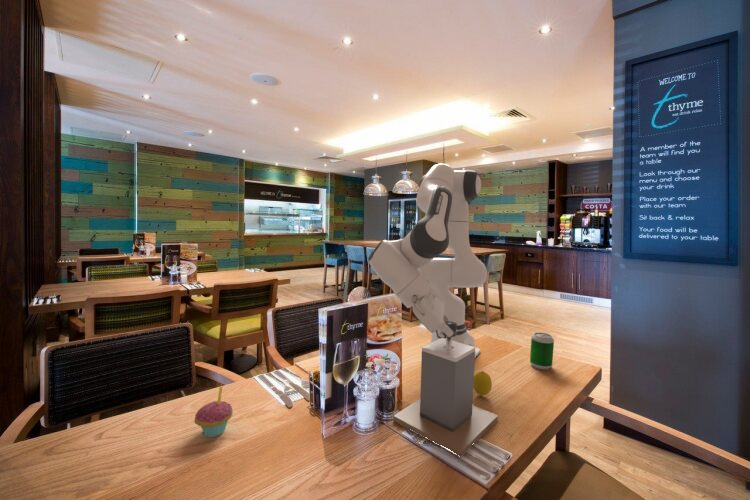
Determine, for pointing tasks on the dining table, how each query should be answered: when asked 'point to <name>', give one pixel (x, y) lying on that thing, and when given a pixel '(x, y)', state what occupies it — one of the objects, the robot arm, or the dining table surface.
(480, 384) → the lemon
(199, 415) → the cupcake
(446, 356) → the press
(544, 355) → the soda can
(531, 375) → the dining table surface
